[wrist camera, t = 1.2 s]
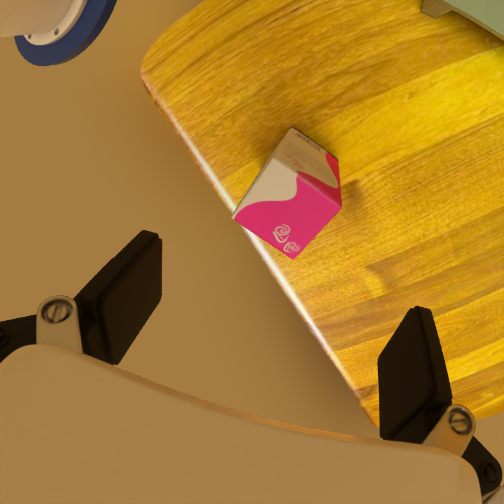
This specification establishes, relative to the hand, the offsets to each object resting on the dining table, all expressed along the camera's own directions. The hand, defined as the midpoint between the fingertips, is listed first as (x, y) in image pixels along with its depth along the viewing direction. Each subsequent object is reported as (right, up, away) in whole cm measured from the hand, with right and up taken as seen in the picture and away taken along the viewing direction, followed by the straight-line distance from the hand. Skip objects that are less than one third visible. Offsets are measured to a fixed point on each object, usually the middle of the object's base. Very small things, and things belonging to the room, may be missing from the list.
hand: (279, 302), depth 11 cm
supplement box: (+4, +10, +20) cm, 23 cm away
